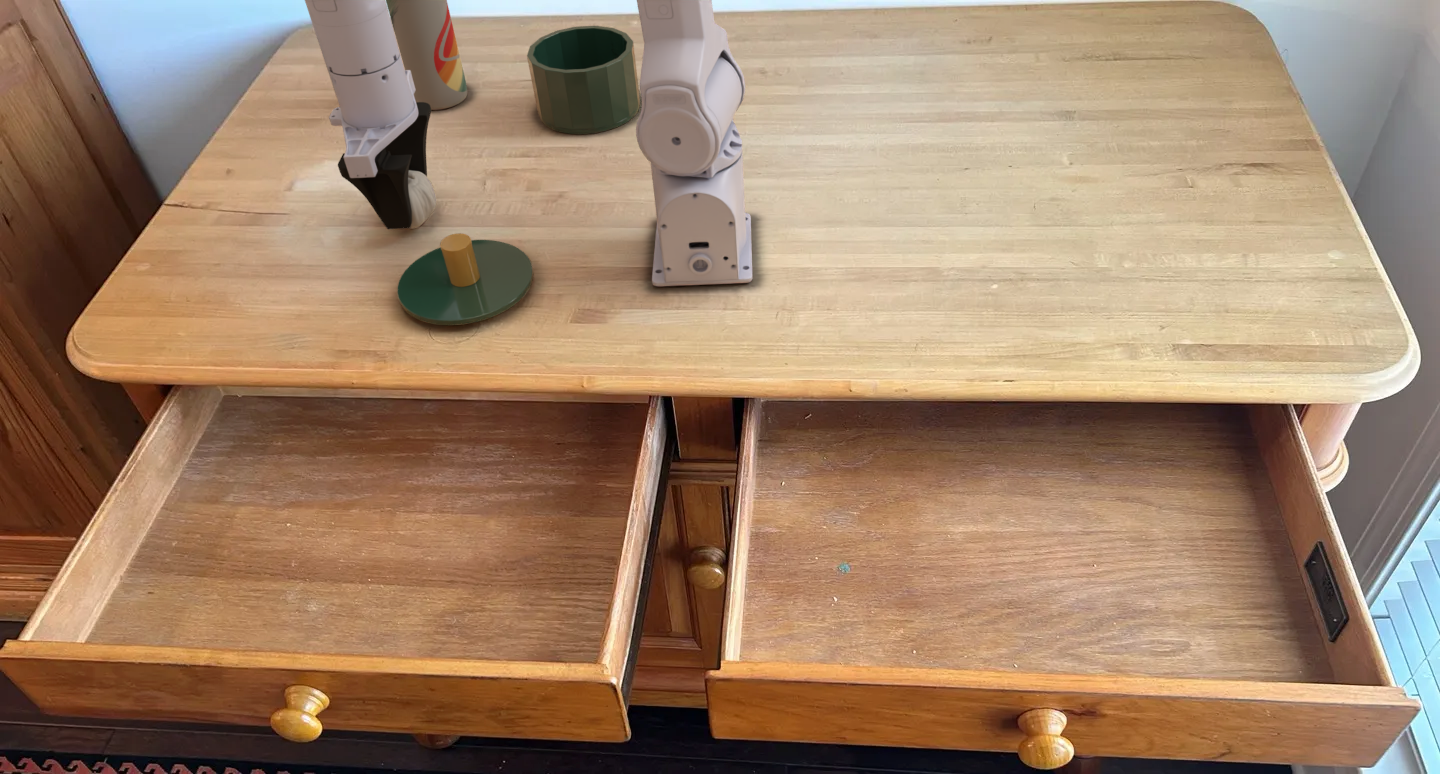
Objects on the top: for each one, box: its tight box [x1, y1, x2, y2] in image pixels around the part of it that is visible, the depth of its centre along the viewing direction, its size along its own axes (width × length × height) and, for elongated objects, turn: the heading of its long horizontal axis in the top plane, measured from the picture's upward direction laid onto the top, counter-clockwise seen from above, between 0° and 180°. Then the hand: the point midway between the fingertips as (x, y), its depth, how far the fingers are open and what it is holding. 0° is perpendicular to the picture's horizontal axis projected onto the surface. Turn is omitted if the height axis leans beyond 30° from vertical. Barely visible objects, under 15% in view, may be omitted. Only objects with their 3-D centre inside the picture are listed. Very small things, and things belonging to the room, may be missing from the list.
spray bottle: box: [385, 0, 468, 111], centre depth 103 cm, size 6×6×20 cm
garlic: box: [408, 170, 437, 230], centre depth 91 cm, size 6×5×5 cm
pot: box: [526, 25, 641, 135], centre depth 104 cm, size 10×10×6 cm
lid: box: [396, 232, 535, 326], centre depth 84 cm, size 11×11×5 cm
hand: (407, 206), depth 92 cm, fingers closed on garlic, 5 cm apart
